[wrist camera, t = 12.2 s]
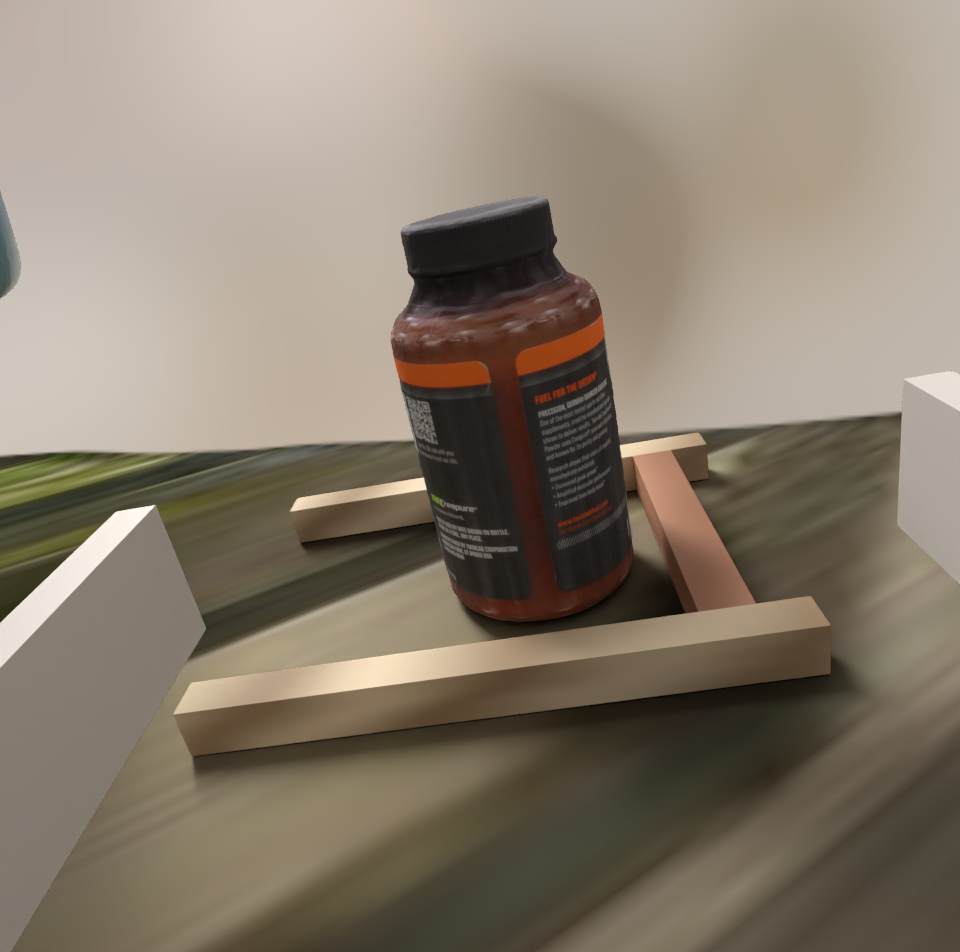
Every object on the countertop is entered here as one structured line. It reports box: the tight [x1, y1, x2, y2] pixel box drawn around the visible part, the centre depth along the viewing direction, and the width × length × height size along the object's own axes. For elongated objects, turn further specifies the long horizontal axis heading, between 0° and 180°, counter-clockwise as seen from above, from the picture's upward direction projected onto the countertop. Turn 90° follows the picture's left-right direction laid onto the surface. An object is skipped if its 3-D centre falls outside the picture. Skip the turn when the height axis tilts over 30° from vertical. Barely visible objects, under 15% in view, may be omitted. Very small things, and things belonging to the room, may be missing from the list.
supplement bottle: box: [391, 196, 633, 622], centre depth 21 cm, size 6×6×11 cm
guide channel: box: [173, 433, 831, 756], centre depth 24 cm, size 16×12×1 cm
